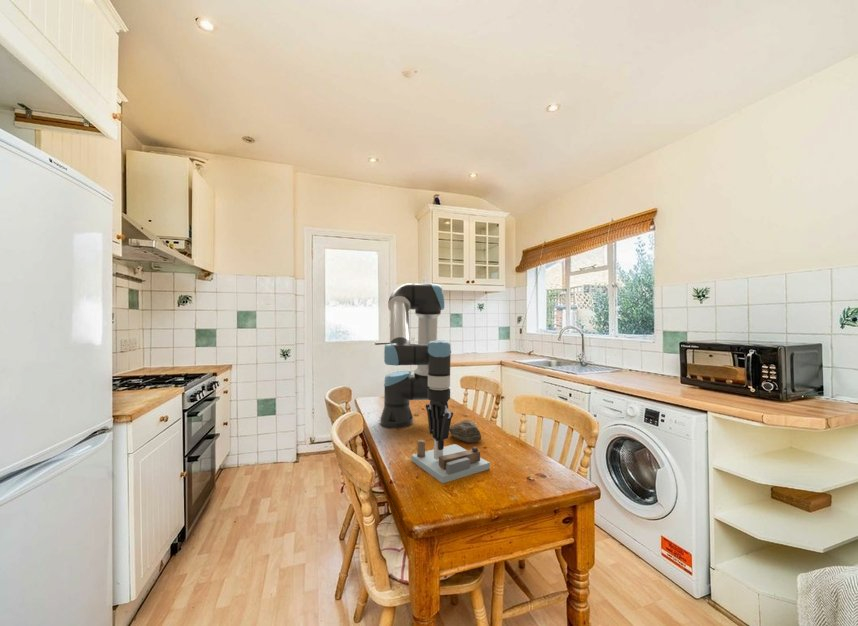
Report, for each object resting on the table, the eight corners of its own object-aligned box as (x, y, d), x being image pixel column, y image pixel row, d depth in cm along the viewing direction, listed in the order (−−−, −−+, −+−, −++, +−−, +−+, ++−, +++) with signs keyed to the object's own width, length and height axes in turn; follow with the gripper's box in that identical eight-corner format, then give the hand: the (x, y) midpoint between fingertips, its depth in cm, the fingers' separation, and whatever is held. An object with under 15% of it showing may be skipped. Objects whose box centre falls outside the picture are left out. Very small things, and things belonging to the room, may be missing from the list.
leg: (443, 469, 108) (443, 457, 108) (438, 466, 110) (438, 453, 110) (480, 461, 114) (480, 448, 114) (474, 457, 117) (474, 445, 117)
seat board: (411, 460, 120) (411, 440, 120) (455, 449, 130) (455, 430, 130) (442, 483, 104) (442, 460, 104) (489, 468, 114) (490, 447, 114)
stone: (443, 426, 147) (459, 408, 148) (459, 440, 149) (475, 423, 150) (452, 440, 134) (470, 421, 135) (470, 456, 136) (487, 436, 137)
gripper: (460, 389, 112) (459, 462, 112) (437, 382, 123) (436, 449, 123) (440, 392, 108) (440, 468, 108) (419, 385, 119) (418, 453, 119)
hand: (438, 458), depth 115 cm, fingers closed
